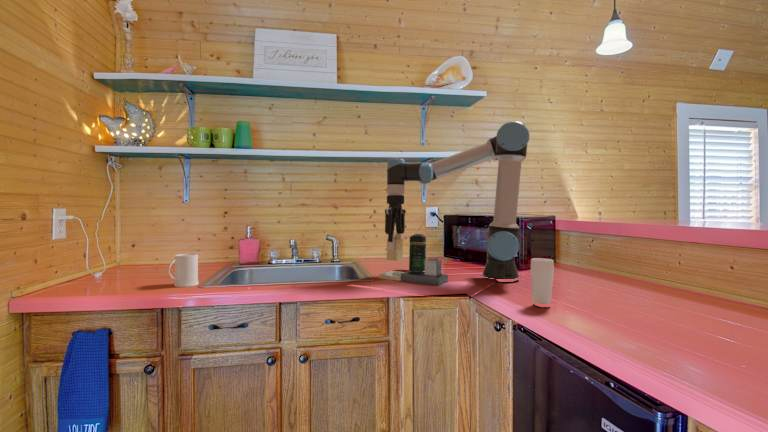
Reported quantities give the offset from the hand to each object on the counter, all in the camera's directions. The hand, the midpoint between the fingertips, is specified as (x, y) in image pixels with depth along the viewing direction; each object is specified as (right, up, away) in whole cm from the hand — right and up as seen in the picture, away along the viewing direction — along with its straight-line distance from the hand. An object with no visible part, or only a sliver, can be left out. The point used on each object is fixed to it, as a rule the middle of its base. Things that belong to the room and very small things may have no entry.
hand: (394, 248), depth 159 cm
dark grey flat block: (+12, -14, -8) cm, 20 cm away
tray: (0, -13, 0) cm, 13 cm away
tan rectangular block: (0, -5, 0) cm, 5 cm away
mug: (-83, -13, -15) cm, 86 cm away
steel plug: (+15, -13, -11) cm, 22 cm away
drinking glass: (+45, -15, -42) cm, 64 cm away
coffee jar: (+11, -13, +18) cm, 25 cm away
